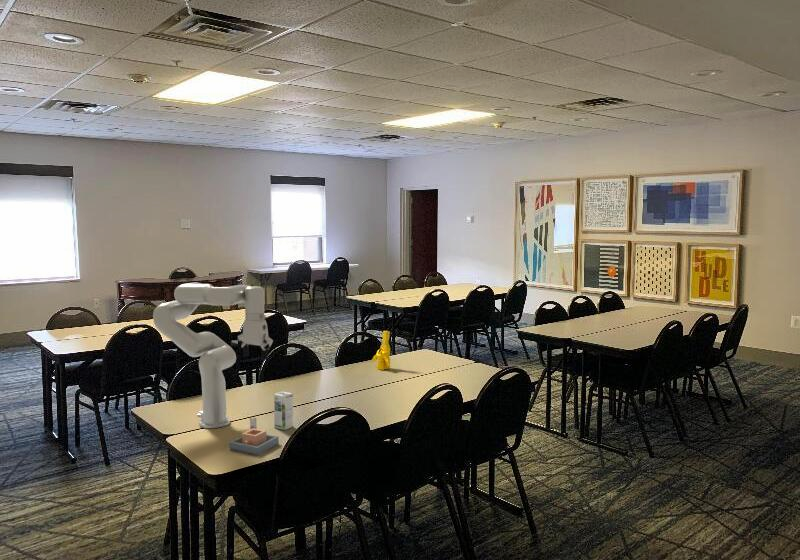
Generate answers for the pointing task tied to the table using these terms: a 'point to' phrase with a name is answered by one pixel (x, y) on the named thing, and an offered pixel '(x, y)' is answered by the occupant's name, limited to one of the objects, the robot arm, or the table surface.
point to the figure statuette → (383, 353)
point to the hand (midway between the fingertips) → (255, 358)
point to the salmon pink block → (254, 437)
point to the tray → (253, 450)
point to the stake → (253, 423)
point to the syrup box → (283, 410)
